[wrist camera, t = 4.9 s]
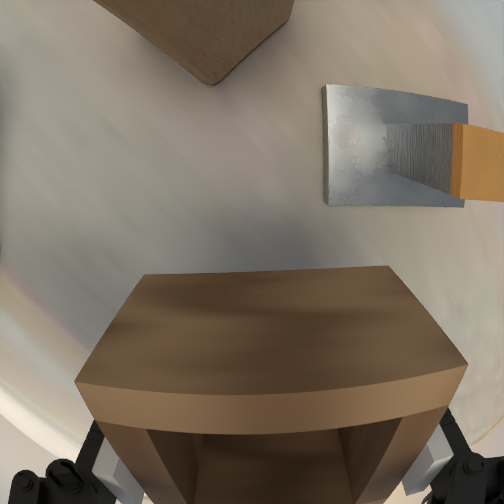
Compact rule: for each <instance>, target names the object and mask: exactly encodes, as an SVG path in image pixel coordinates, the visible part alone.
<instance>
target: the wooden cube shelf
mask: <svg viewBox="0 0 504 504" xmlns="http://www.w3.org/2000/svg"><path fill="white" fill-rule="evenodd" d="M467 367H468V363H467V361H466V360H465V359H464V357H463V356H462V355H461V353H460V352H459V351H458V349H457V348H456V347H455V345H454V344H453V343H452V341H451V340H450V339H449V338H448V336H447V335H446V334H445V332H444V331H443V330H442V329H441V327H440V326H439V325H438V324H437V322H436V321H435V320H434V319H433V317H432V316H431V315H430V314H429V312H428V311H427V310H426V309H425V308H424V306H423V305H422V304H421V303H420V302H419V300H418V299H417V298H416V297H415V296H414V294H413V293H412V292H411V291H410V290H409V289H408V287H407V286H406V285H405V284H404V283H403V282H402V280H401V279H400V278H399V277H398V276H397V275H396V274H395V273H394V271H393V270H392V269H391V268H390V267H389V266H370V267H351V268H330V269H309V270H285V271H259V272H230V273H196V274H155V275H144V276H143V277H142V278H141V280H140V281H139V283H138V284H137V286H136V287H135V288H134V290H133V291H132V293H131V294H130V296H129V297H128V299H127V300H126V301H125V303H124V304H123V306H122V307H121V309H120V310H119V312H118V313H117V315H116V316H115V318H114V319H113V321H112V322H111V324H110V325H109V327H108V328H107V330H106V331H105V333H104V334H103V336H102V338H101V339H100V341H99V342H98V344H97V345H96V347H95V348H94V350H93V352H92V353H91V355H90V356H89V358H88V360H87V361H86V363H85V364H84V366H83V368H82V369H81V371H80V373H79V374H78V376H77V378H76V379H75V381H74V382H75V384H76V386H77V388H78V390H79V392H80V394H81V396H82V398H83V399H84V401H85V403H86V405H87V407H88V409H89V410H90V412H91V414H92V416H93V417H94V419H95V421H96V422H97V424H98V426H99V427H100V429H101V431H102V432H103V434H104V436H105V437H106V439H107V440H108V442H109V443H110V445H111V446H112V448H113V449H114V451H115V452H116V454H117V455H118V457H120V459H121V460H122V462H123V463H124V464H125V466H126V467H127V469H128V470H129V471H130V473H131V474H132V475H133V477H134V478H135V479H136V481H137V482H138V483H139V485H140V486H141V487H142V489H143V490H144V491H145V493H146V494H147V496H148V497H149V498H150V499H151V501H152V502H153V503H154V504H383V503H384V502H385V501H386V500H387V498H388V497H389V496H390V495H391V493H392V492H393V491H394V490H395V488H396V487H397V485H398V484H399V483H400V482H401V480H402V478H403V477H404V476H405V474H406V473H407V472H408V470H409V469H410V467H411V466H412V464H413V463H414V461H415V460H416V459H417V457H418V456H419V454H420V452H421V451H422V449H423V448H424V446H425V445H426V443H427V442H428V441H429V439H430V437H431V436H432V434H433V432H434V431H435V429H436V427H437V426H438V424H439V422H440V420H441V419H442V417H443V415H444V413H445V411H446V410H447V408H448V406H449V404H450V402H451V400H452V398H453V396H454V394H455V392H456V390H457V388H458V386H459V384H460V382H461V380H462V378H463V375H464V373H465V371H466V369H467Z"/></svg>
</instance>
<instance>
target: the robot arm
mask: <svg viewBox="0 0 504 504" xmlns="http://www.w3.org/2000/svg"><path fill="white" fill-rule="evenodd" d="M45 476H46V477H47V478H42V477H38V476H37V475H36V474H35V473H34V472H32V471H30V470H22V471H20V472H18V473H17V474H16V475H15V476H14V478H13V480H12V485H11V490H10V496H9V501H8V504H115V502H116V499H118V500H119V501H120V502H121V503H122V504H142V500H143V496H144V492H145V491H144V490H143V489H142V487H141V486H140V485H139V483H138V482H137V481H136V479H135V478H134V477H133V475H132V474H131V473H130V471H129V470H128V469H127V467H126V466H125V464H124V463H123V462H122V460H121V459H120V457H118V455H117V454H116V452H115V451H114V449H113V448H112V446H111V445H110V443H109V442H108V440H107V439H106V437H105V436H104V434H103V432H102V431H101V429H100V427H99V426H98V424H97V422H96V421H95V419H94V421H93V423H92V425H91V428H90V432H88V434H87V437H86V440H85V441H84V443H83V446H82V448H81V450H80V453H79V455H78V457H77V460H76V462H75V463H74V462H73V461H71V460H68V459H58V460H54V461H53V462H52V463H50V464H49V466H48V467H47V469H46V475H45ZM402 483H403V487H404V490H405V493H406V496H408V495H411V494H414V493H417V492H420V491H424V490H425V489H426V487H427V486H428V485H429V484H430V486H431V489H432V491H431V492H430V493H429V494H428V495H427V496H426V497H425V498H424V499H423V501H422V504H424V503H425V502H426V501H427V500H428V502H427V504H504V456H502V457H494V458H484V457H483V456H481V455H480V454H478V453H474V452H472V451H471V449H470V448H469V446H468V444H467V442H466V440H465V438H464V436H463V434H462V432H461V430H460V428H459V426H458V424H457V423H456V422H455V419H454V417H453V415H451V411H450V410H449V408H447V410H446V411H445V413H444V415H443V417H442V419H441V420H440V422H439V424H438V426H437V427H436V429H435V431H434V432H433V434H432V436H431V437H430V439H429V441H428V442H427V443H426V445H425V446H424V448H423V449H422V451H421V452H420V454H419V456H418V457H417V459H416V460H415V461H414V463H413V464H412V466H411V467H410V469H409V470H408V472H407V473H406V474H405V476H404V477H403V478H402Z"/></svg>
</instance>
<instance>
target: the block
mask: <svg viewBox="0 0 504 504" xmlns="http://www.w3.org/2000/svg"><path fill="white" fill-rule="evenodd" d="M93 1H95V2H96V3H98V4H99V5H101V6H102V7H104V8H105V9H106V10H108V11H109V12H111V13H112V14H114V15H115V16H116V17H118V18H119V19H121V20H122V21H123V22H125V23H126V24H128V25H129V26H130V27H132V28H133V29H134V30H136V31H137V32H138V33H140V34H141V35H142V36H144V37H145V38H146V39H148V40H149V41H151V42H152V43H153V44H155V45H156V46H157V47H158V48H160V49H161V50H162V51H164V52H165V53H166V54H168V55H169V56H170V57H171V58H173V59H174V60H175V61H177V62H178V63H179V64H180V65H182V66H183V67H184V68H185V69H187V70H188V71H189V72H190V73H191V74H193V75H194V76H195V77H196V78H198V79H199V80H200V81H201V82H202V83H206V84H209V85H213V84H215V83H217V82H219V81H220V80H221V79H222V78H223V77H224V76H225V75H226V74H228V73H229V72H230V71H231V70H232V69H233V68H234V67H235V66H236V65H237V64H238V63H239V62H240V61H241V60H242V59H243V58H244V57H245V56H247V55H248V54H249V53H250V52H251V51H252V50H253V49H254V48H255V47H257V46H258V45H259V44H260V43H261V42H262V41H263V40H264V39H266V38H267V37H268V36H269V35H270V34H271V33H273V32H274V31H275V30H276V29H277V28H279V27H280V26H281V25H282V24H283V23H285V22H286V21H287V20H288V18H289V16H290V14H291V10H292V7H293V3H294V0H93Z"/></svg>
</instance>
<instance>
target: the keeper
mask: <svg viewBox="0 0 504 504" xmlns="http://www.w3.org/2000/svg"><path fill="white" fill-rule="evenodd" d="M322 108H323V141H324V201H325V203H326V204H327V205H328V206H432V207H461V208H464V202H465V199H468V200H484V201H497V202H504V133H501V132H497V131H493V130H489V129H485V128H481V127H476V126H472V125H468V104H464V103H459V102H455V101H450V100H446V99H441V98H436V97H431V96H425V95H420V94H414V93H407V92H401V91H394V90H386V89H378V88H368V87H358V86H345V85H329V84H326V85H325V86H324V87H322Z"/></svg>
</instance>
